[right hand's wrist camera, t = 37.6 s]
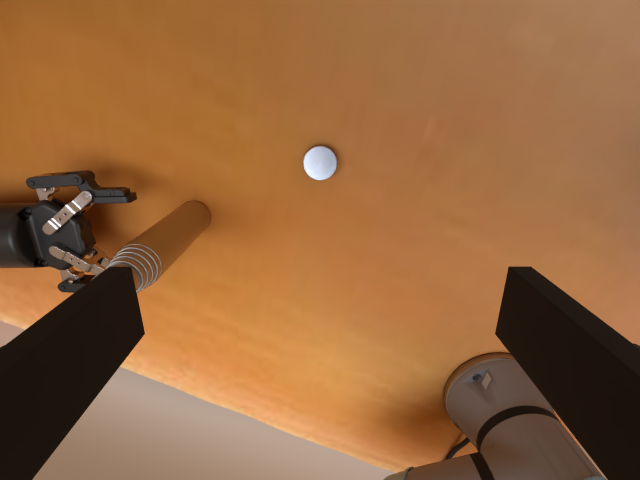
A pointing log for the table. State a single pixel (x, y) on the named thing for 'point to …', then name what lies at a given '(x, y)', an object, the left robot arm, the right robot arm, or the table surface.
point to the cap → (320, 162)
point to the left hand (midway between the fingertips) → (140, 233)
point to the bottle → (162, 243)
